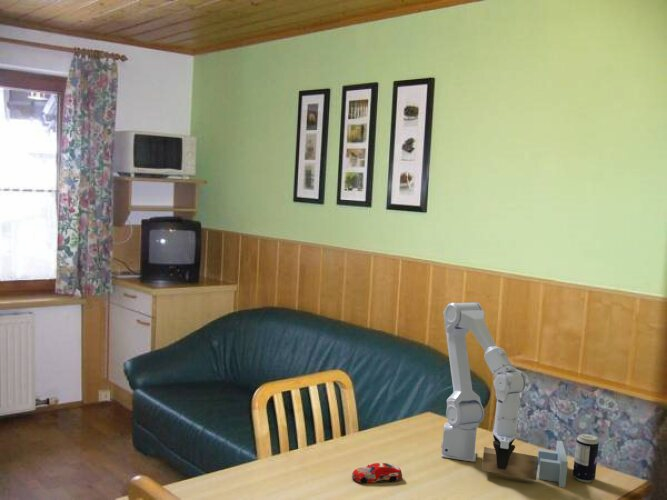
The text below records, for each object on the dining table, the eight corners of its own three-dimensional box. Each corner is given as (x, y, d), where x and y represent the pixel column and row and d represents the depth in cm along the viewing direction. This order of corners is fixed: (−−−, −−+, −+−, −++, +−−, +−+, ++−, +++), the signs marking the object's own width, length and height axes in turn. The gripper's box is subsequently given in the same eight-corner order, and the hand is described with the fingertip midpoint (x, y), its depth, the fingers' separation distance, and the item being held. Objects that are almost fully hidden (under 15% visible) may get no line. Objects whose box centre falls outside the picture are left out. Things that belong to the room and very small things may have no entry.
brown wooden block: (481, 470, 186) (484, 452, 186) (482, 464, 190) (484, 447, 190) (536, 480, 183) (538, 462, 183) (535, 474, 187) (537, 456, 187)
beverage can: (596, 484, 187) (600, 441, 186) (574, 481, 188) (578, 438, 187) (592, 476, 192) (597, 434, 191) (571, 473, 193) (575, 431, 192)
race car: (354, 485, 177) (355, 470, 177) (349, 476, 182) (350, 461, 182) (403, 483, 180) (405, 468, 180) (397, 474, 185) (398, 460, 185)
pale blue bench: (539, 483, 185) (542, 458, 184) (536, 461, 201) (538, 437, 200) (565, 487, 184) (567, 461, 183) (560, 465, 199) (562, 441, 199)
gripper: (522, 427, 178) (517, 478, 179) (521, 409, 192) (516, 457, 193) (494, 422, 179) (489, 473, 181) (494, 406, 193) (490, 453, 195)
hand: (501, 465), depth 187 cm, fingers closed on brown wooden block, 4 cm apart
